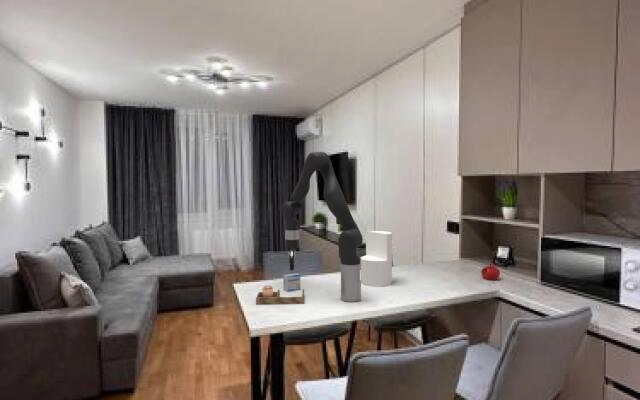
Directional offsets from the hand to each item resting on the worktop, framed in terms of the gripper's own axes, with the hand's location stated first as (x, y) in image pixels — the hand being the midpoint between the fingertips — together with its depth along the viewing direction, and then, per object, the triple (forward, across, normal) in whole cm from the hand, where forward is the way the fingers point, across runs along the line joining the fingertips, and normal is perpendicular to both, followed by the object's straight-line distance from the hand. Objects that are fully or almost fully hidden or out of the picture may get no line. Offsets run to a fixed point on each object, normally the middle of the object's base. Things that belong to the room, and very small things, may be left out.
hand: (291, 269), depth 204 cm
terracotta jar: (+8, -29, +10) cm, 31 cm away
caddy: (+8, -27, +4) cm, 29 cm away
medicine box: (+9, -10, 0) cm, 13 cm away
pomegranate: (+8, +8, -114) cm, 114 cm away
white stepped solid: (+8, +4, -47) cm, 48 cm away
